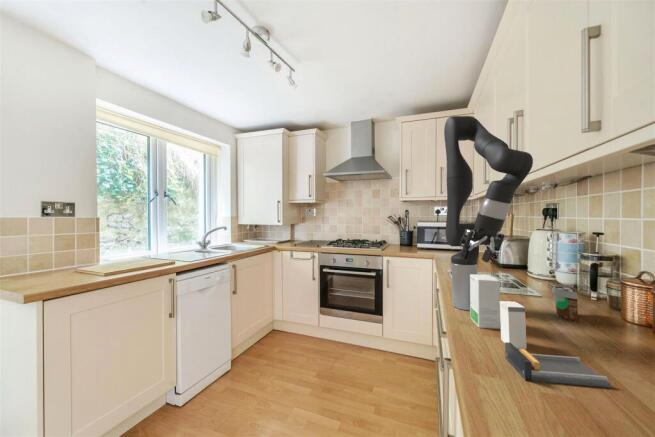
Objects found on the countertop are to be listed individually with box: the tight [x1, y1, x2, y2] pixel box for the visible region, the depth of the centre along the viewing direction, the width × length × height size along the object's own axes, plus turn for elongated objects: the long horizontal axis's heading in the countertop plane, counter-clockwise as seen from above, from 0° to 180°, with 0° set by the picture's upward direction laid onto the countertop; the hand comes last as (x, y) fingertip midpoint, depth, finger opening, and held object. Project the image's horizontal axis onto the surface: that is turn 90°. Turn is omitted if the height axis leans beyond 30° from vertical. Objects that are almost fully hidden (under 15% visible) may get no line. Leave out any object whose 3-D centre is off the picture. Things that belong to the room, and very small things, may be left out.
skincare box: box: [469, 274, 501, 330], centre depth 85 cm, size 8×7×16 cm
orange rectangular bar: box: [519, 349, 540, 371], centre depth 59 cm, size 6×1×2 cm, turn 168°
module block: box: [500, 300, 527, 350], centre depth 71 cm, size 5×4×11 cm
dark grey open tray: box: [504, 342, 611, 389], centre depth 58 cm, size 9×15×4 cm, turn 78°
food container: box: [551, 284, 579, 323], centre depth 90 cm, size 12×6×10 cm, turn 141°
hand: (474, 260), depth 85 cm, fingers open, 8 cm apart
